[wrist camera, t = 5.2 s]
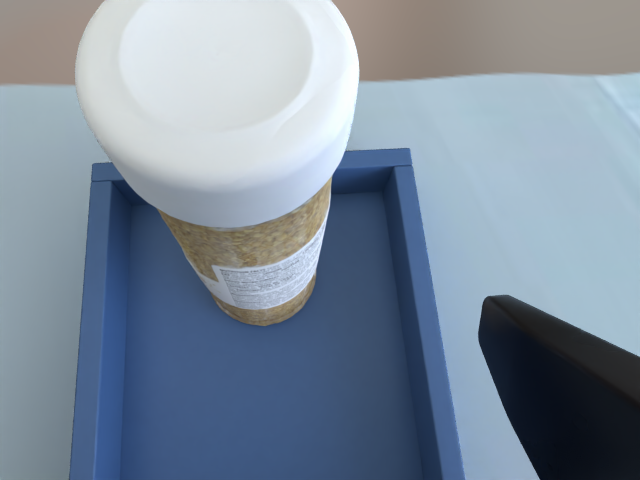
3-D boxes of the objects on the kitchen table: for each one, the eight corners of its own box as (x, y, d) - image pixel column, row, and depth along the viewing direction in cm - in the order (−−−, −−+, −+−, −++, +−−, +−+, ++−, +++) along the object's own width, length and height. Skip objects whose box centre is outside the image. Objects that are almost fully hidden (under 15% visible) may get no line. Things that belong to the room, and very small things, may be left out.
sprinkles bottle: (201, 233, 21) (58, -46, 8) (306, 215, 21) (329, -74, 8) (216, 340, 19) (71, 207, 6) (328, 317, 20) (396, 154, 7)
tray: (456, 569, 17) (486, 598, 15) (93, 614, 16) (55, 654, 14) (395, 178, 22) (410, 147, 20) (116, 193, 21) (91, 162, 19)
